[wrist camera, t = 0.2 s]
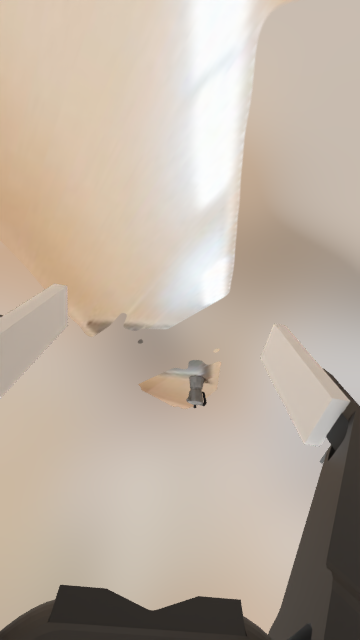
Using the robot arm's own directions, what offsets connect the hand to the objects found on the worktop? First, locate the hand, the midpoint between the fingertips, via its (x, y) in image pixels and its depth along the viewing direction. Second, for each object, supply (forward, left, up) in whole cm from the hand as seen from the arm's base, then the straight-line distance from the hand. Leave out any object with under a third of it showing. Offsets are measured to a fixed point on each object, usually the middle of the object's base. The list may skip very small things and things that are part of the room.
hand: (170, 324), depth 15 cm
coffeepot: (+131, -37, -36) cm, 140 cm away
